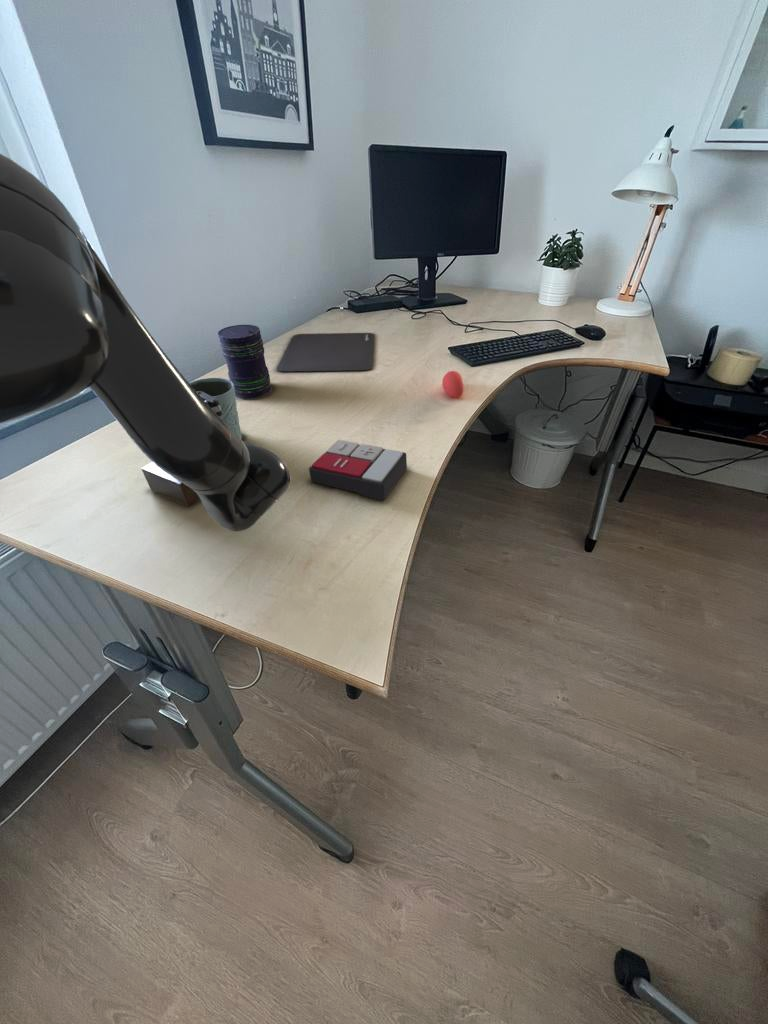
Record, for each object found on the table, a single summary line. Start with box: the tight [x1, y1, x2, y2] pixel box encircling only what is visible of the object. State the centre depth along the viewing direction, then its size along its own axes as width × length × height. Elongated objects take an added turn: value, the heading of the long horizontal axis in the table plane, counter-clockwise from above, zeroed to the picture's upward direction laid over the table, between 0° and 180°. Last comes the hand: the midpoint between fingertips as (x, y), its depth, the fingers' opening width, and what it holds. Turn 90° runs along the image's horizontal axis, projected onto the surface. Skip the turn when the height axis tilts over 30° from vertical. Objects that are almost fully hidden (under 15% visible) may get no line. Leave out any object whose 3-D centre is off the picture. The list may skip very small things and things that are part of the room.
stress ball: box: [441, 370, 464, 399], centre depth 107 cm, size 5×9×6 cm, turn 166°
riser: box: [141, 461, 201, 508], centre depth 79 cm, size 10×10×5 cm
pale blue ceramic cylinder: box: [188, 377, 243, 440], centre depth 89 cm, size 10×10×12 cm
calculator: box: [308, 439, 408, 501], centre depth 80 cm, size 11×4×15 cm
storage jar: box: [217, 324, 272, 400], centre depth 107 cm, size 10×10×15 cm
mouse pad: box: [276, 332, 375, 373], centre depth 132 cm, size 32×27×1 cm
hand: (156, 400), depth 72 cm, fingers closed on beverage cup, 6 cm apart
